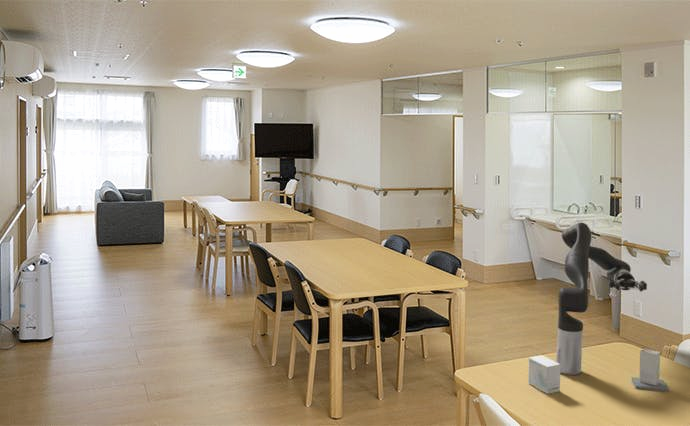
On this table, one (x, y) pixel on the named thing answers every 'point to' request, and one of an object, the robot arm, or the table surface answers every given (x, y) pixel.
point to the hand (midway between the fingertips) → (630, 288)
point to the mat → (649, 385)
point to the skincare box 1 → (544, 374)
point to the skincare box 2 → (649, 366)
